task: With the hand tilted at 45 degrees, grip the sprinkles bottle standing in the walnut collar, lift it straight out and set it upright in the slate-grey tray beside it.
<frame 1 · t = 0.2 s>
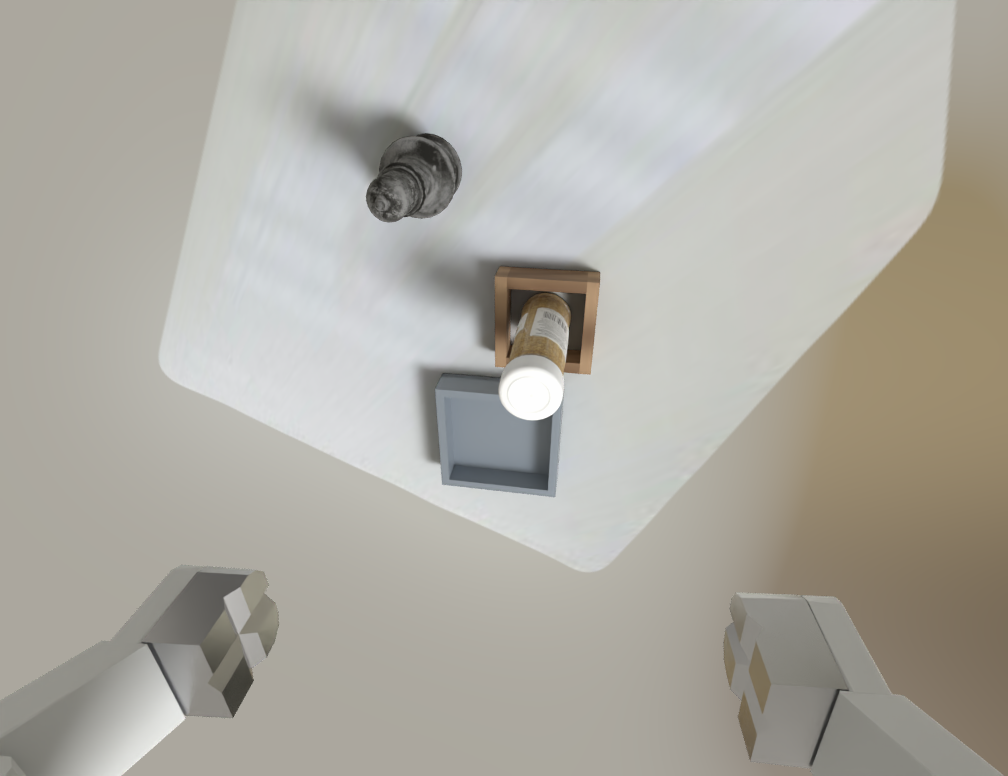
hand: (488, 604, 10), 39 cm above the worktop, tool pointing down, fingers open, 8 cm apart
slate tray: (502, 427, 56), on the worktop
sprinkles bottle: (547, 314, 49), resting in walnut collar
salt shaker: (430, 169, 44), on the worktop
walnut collar: (546, 315, 49), on the worktop
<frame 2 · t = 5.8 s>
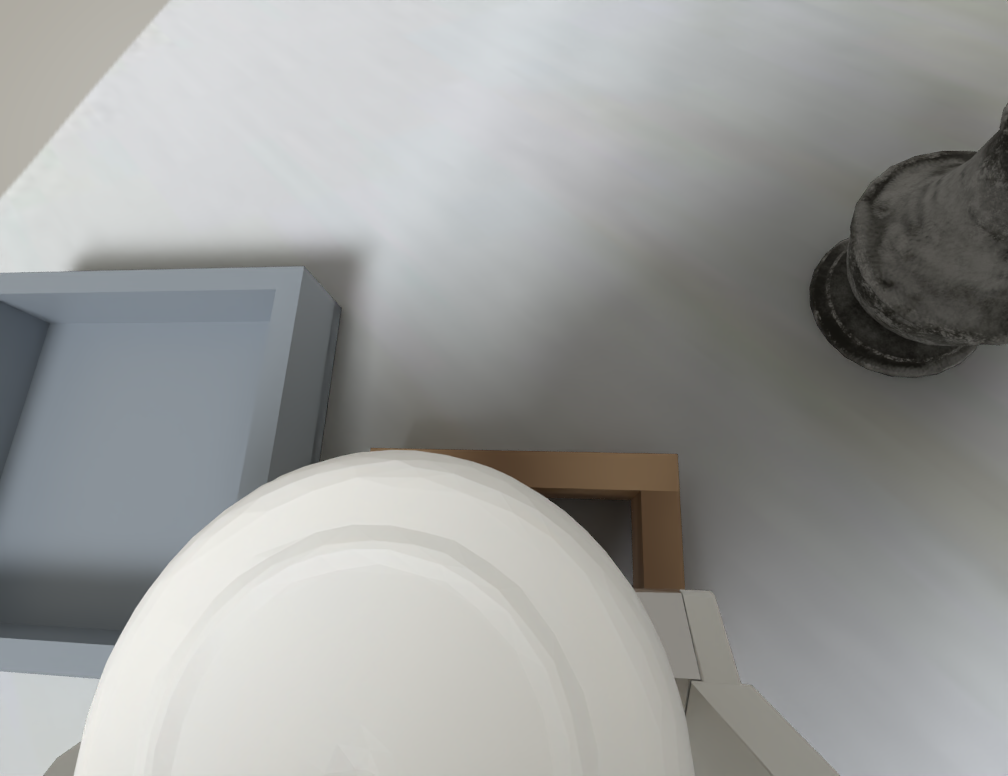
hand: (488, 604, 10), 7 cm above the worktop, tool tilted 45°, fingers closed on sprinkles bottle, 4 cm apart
slate tray: (154, 465, 19), on the worktop
sprinkles bottle: (521, 608, 16), resting in walnut collar, touching gripper
salt shaker: (891, 304, 18), on the worktop
walnut collar: (521, 608, 16), on the worktop
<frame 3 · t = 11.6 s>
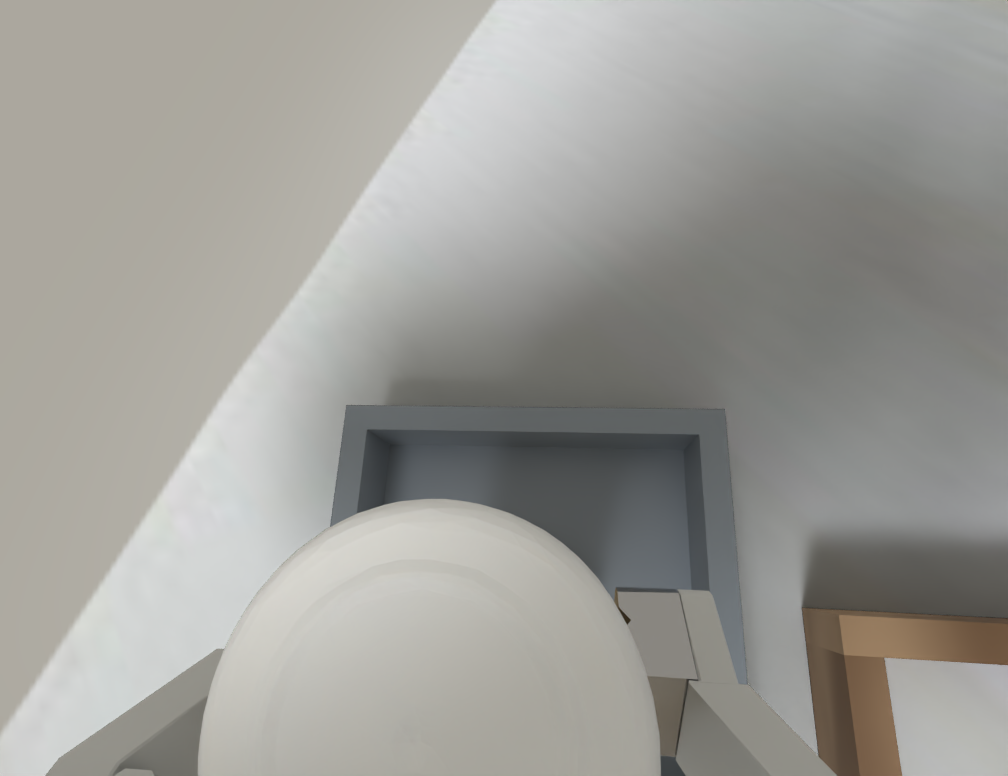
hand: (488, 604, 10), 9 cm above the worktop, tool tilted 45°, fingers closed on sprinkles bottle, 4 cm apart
slate tray: (528, 603, 18), on the worktop
sprinkles bottle: (525, 612, 18), resting on slate tray, touching gripper
when the fingers open (9 cm above the worktop, at t = 11.6 s): sprinkles bottle stays where it is, resting on slate tray.
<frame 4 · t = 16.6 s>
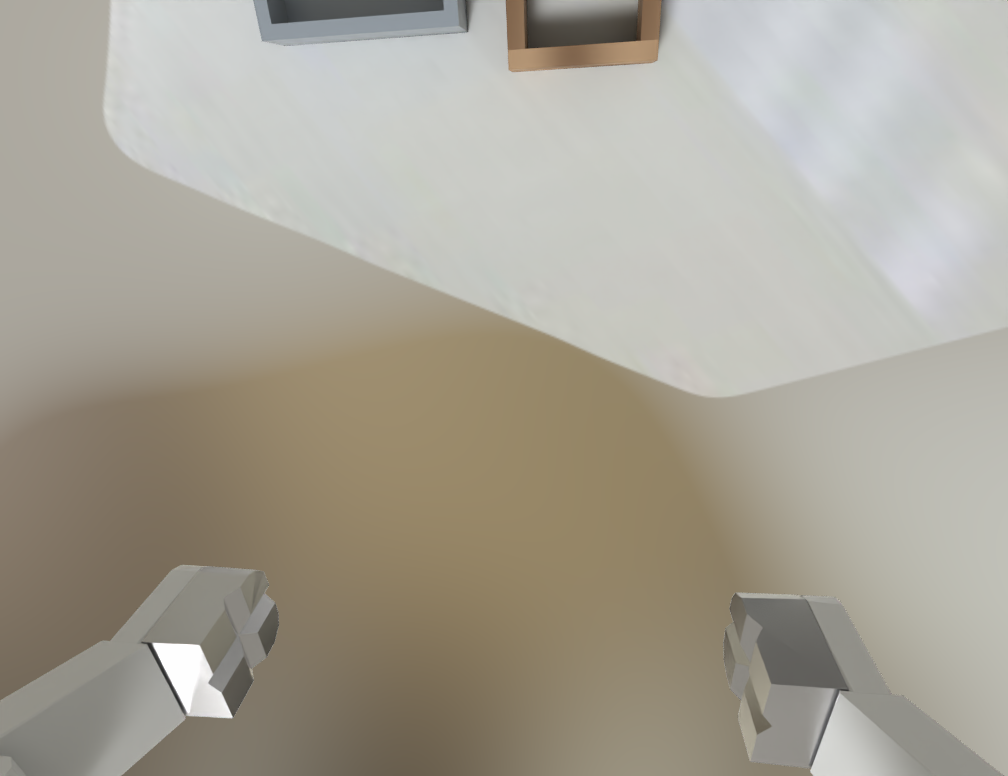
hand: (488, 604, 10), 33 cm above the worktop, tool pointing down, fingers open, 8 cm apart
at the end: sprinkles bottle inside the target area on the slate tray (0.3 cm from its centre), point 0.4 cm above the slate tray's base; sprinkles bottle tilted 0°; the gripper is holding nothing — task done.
